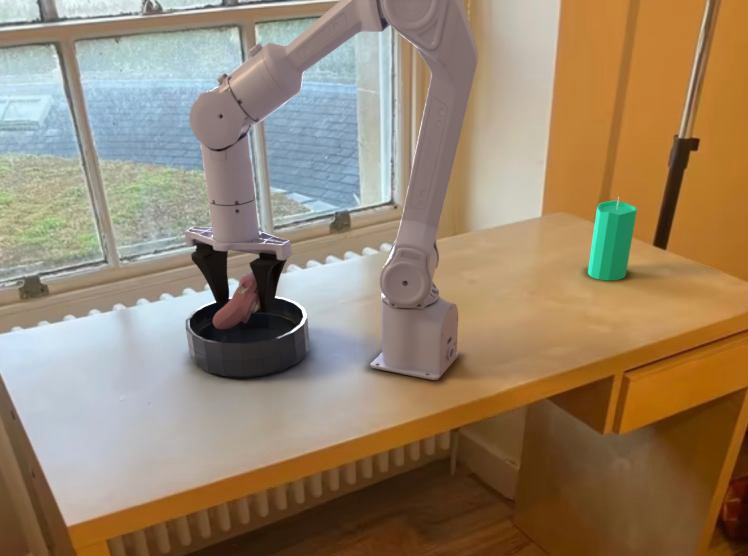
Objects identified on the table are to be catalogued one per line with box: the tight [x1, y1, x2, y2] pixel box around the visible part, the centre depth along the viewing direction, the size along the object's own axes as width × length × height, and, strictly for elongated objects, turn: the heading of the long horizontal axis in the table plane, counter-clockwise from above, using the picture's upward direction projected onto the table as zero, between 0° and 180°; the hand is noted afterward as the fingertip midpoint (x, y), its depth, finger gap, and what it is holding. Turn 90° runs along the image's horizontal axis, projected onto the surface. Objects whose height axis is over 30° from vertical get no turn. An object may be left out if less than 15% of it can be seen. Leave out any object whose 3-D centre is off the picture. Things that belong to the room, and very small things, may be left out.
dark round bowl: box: [185, 296, 311, 379], centre depth 108 cm, size 16×16×5 cm
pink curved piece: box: [213, 271, 260, 330], centre depth 105 cm, size 10×5×7 cm, turn 168°
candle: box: [587, 196, 638, 281], centre depth 126 cm, size 6×6×12 cm
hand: (244, 305), depth 105 cm, fingers closed on pink curved piece, 6 cm apart
